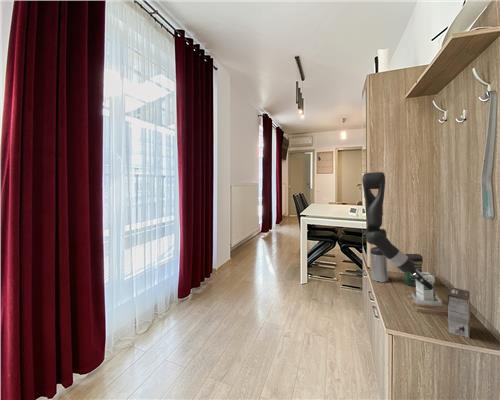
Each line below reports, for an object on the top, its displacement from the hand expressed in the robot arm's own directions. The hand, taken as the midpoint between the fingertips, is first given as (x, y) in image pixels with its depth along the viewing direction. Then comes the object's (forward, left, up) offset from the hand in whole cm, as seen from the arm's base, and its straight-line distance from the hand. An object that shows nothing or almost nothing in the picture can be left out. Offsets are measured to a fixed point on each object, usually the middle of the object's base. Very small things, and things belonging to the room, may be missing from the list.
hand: (428, 284), depth 117 cm
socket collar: (0, -1, -9) cm, 9 cm away
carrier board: (-2, 0, -11) cm, 11 cm away
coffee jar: (-27, 0, -11) cm, 29 cm away
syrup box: (0, -1, -9) cm, 9 cm away
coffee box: (+20, +5, -11) cm, 23 cm away
